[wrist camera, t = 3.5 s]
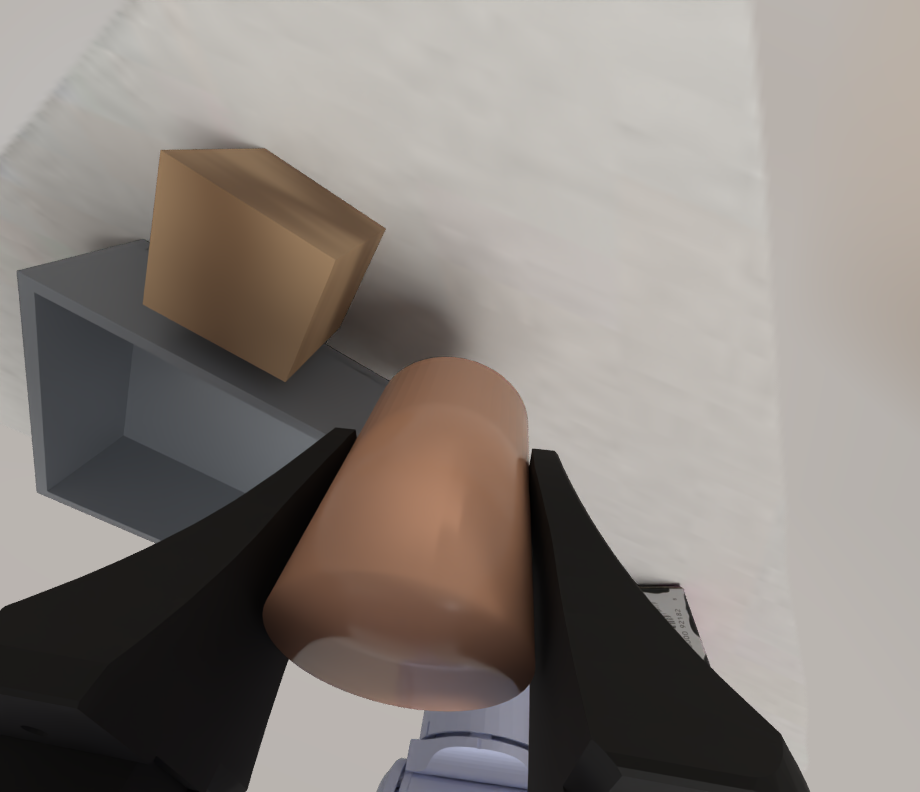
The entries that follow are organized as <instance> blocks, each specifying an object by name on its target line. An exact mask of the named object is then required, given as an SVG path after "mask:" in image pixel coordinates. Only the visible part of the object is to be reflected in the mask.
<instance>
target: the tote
mask: <svg viewBox="0 0 920 792" xmlns="http://www.w3.org/2000/svg"><path fill="white" fill-rule="evenodd" d="M149 245H150V243H149V242H147V241H146V240H144V239H142V240H138V241H134V242H130V243H126V244H122V245H118V246H114V247H110V248H106V249H102V250H98V251H94V252H90V253H86V254H82V255H78V256H74V257H70V258H66V259H62V260H58V261H54V262H50V263H46V264H42V265H38V266H34V267H30V268H26V269H22V270H18V271H17V279H18V290H19V301H20V312H21V323H22V334H23V345H24V357H25V368H26V379H27V390H28V401H29V412H30V423H31V434H32V445H33V456H34V466H35V477H36V489H37V493H39V494H42V495H44V496H46V497H49V498H51V499H53V500H56V501H58V502H60V503H63V504H65V505H67V506H70V507H72V508H75V509H77V510H79V511H81V512H84V513H86V514H89V515H91V516H93V517H96V518H98V519H100V520H103V521H105V522H107V523H110V524H112V525H114V526H117V527H119V528H121V529H124V530H126V531H128V532H131V533H133V534H135V535H138V536H140V537H142V538H145V539H147V540H149V541H152V542H154V543H158V542H160V541H162V540H164V539H165V538H167V537H169V536H171V535H173V534H175V533H177V532H179V531H181V530H183V529H185V528H187V527H189V526H191V525H193V524H195V523H196V522H198V521H200V520H202V519H204V518H205V517H207V516H209V515H211V514H212V513H214V512H216V511H217V510H219V509H221V508H223V507H224V506H226V505H227V504H229V503H231V502H232V501H234V500H236V499H237V498H239V497H240V496H242V495H243V494H245V493H246V492H248V491H249V490H251V489H252V488H254V487H255V486H257V485H258V484H260V483H261V482H262V481H264V480H265V479H267V478H268V477H270V476H271V475H273V474H274V473H276V472H277V471H278V470H280V469H281V468H282V467H284V466H285V465H286V464H288V463H289V462H290V461H292V460H293V459H295V458H296V457H297V456H299V455H300V454H301V453H303V452H304V451H305V450H306V449H308V448H309V447H310V446H312V445H313V444H314V443H316V442H317V441H318V440H319V439H321V438H322V437H323V436H325V435H326V434H327V433H329V432H330V431H331V430H333V429H334V428H335V427H337V428H346V429H355V430H356V435H357V437H358V436H359V434H360V432H361V430H362V428H363V427H364V425H365V423H366V421H367V419H368V418H369V416H370V414H371V412H372V411H373V409H374V407H375V405H376V403H377V402H378V400H379V398H380V396H381V394H382V393H383V391H384V389H385V387H386V386H387V384H388V383H389V382H390V381H388V380H386V379H384V378H383V377H381V376H379V375H377V374H376V373H374V372H372V371H371V370H369V369H367V368H365V367H364V366H362V365H360V364H358V363H357V362H355V361H353V360H351V359H350V358H348V357H346V356H345V355H343V354H341V353H339V352H338V351H336V350H334V349H332V348H331V347H329V346H327V345H326V344H323V345H322V346H321V347H320V348H319V349H318V350H317V351H316V352H315V353H314V354H313V355H312V356H311V357H310V358H309V359H308V360H307V361H306V362H305V363H304V364H303V365H302V366H301V367H300V368H299V369H298V370H297V371H296V372H295V373H294V374H293V375H292V376H291V377H290V378H289V379H288V380H287V381H286V382H284V381H282V380H280V379H278V378H277V377H275V376H273V375H271V374H269V373H267V372H266V371H264V370H262V369H260V368H258V367H256V366H255V365H253V364H251V363H249V362H247V361H245V360H244V359H242V358H240V357H238V356H236V355H234V354H233V353H231V352H229V351H227V350H225V349H223V348H222V347H220V346H218V345H216V344H214V343H212V342H211V341H209V340H207V339H205V338H203V337H201V336H200V335H198V334H196V333H194V332H192V331H190V330H189V329H187V328H185V327H183V326H181V325H179V324H178V323H176V322H174V321H172V320H170V319H168V318H167V317H165V316H163V315H161V314H159V313H157V312H156V311H154V310H152V309H150V308H148V307H146V306H145V305H143V297H144V289H145V280H146V271H147V263H148V254H149Z"/></svg>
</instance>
